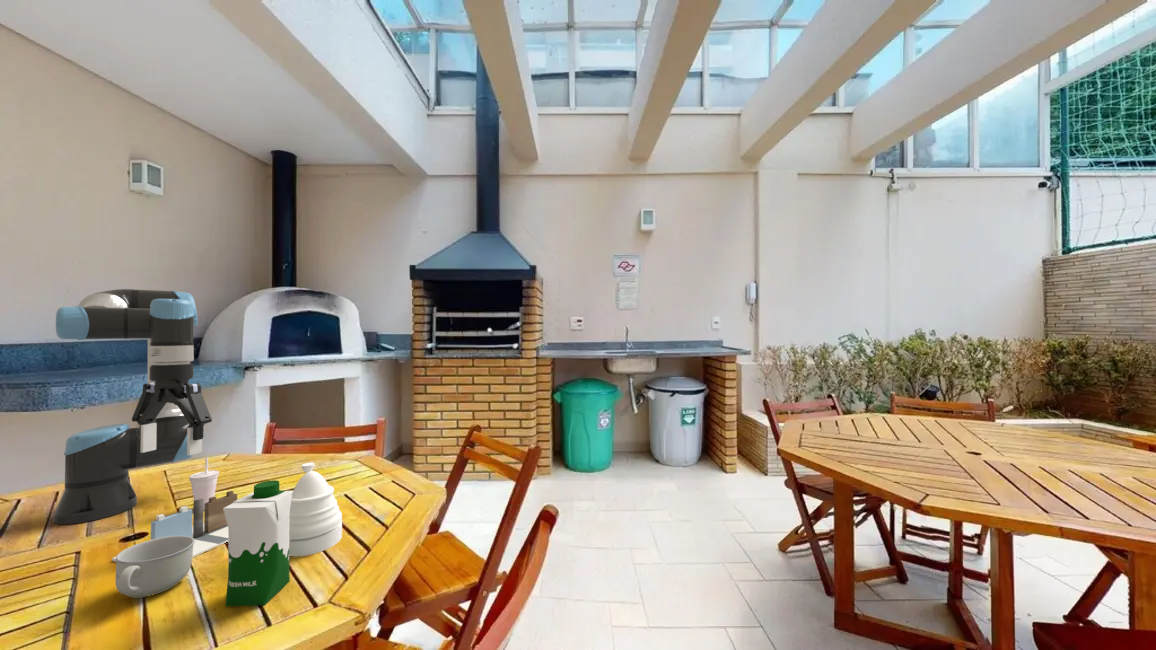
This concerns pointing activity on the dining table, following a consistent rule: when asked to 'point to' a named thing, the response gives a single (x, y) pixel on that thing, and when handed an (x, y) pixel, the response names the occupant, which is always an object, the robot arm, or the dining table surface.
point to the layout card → (207, 540)
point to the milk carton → (258, 545)
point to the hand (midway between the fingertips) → (171, 452)
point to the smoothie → (204, 484)
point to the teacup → (153, 565)
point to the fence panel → (173, 524)
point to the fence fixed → (210, 513)
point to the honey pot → (313, 515)
